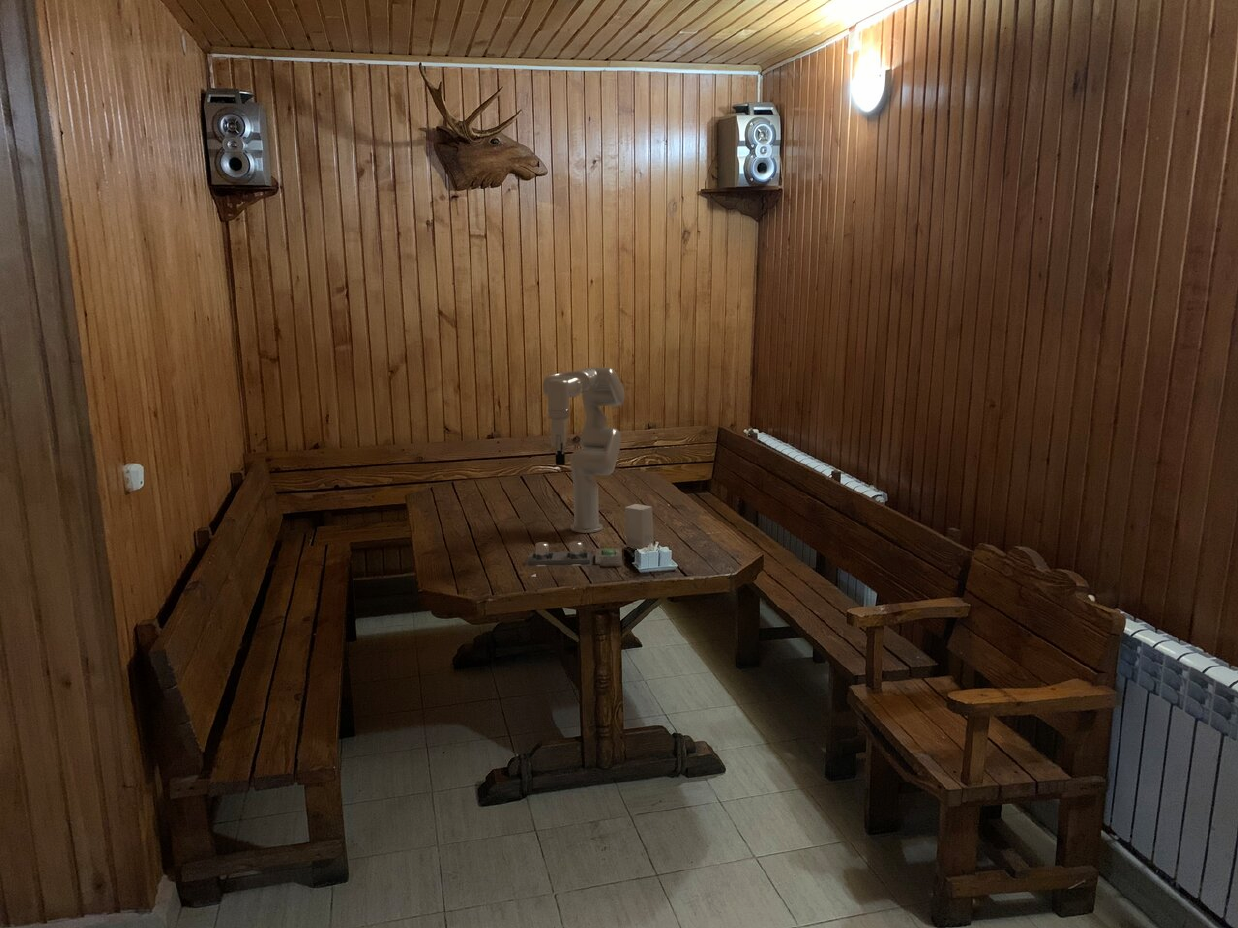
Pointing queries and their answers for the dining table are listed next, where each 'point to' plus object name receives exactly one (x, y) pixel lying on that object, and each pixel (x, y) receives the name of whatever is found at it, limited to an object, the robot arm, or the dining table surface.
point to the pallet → (559, 560)
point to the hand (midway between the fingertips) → (560, 464)
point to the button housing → (609, 558)
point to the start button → (608, 552)
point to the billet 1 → (542, 550)
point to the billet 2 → (576, 550)
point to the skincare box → (638, 525)
